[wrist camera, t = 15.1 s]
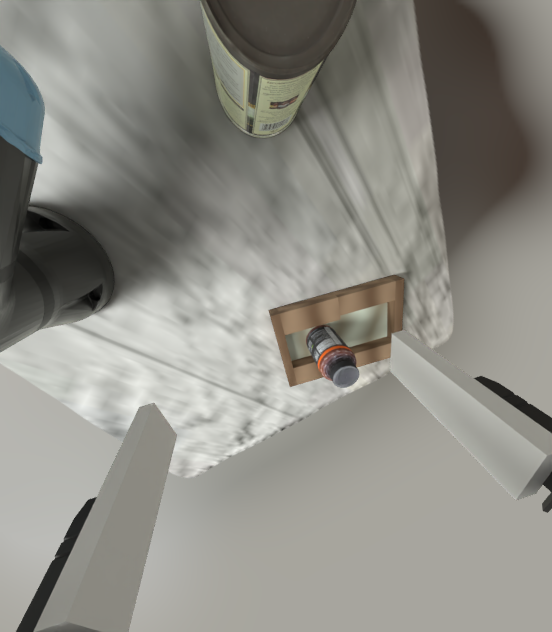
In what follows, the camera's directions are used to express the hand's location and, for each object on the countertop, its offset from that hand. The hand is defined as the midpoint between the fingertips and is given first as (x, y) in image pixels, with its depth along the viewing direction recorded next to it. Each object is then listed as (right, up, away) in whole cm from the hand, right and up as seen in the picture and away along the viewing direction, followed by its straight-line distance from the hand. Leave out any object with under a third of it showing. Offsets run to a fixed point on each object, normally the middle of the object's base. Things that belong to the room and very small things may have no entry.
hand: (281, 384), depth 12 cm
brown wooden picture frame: (+12, +1, +29) cm, 31 cm away
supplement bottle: (+8, 0, +29) cm, 30 cm away
